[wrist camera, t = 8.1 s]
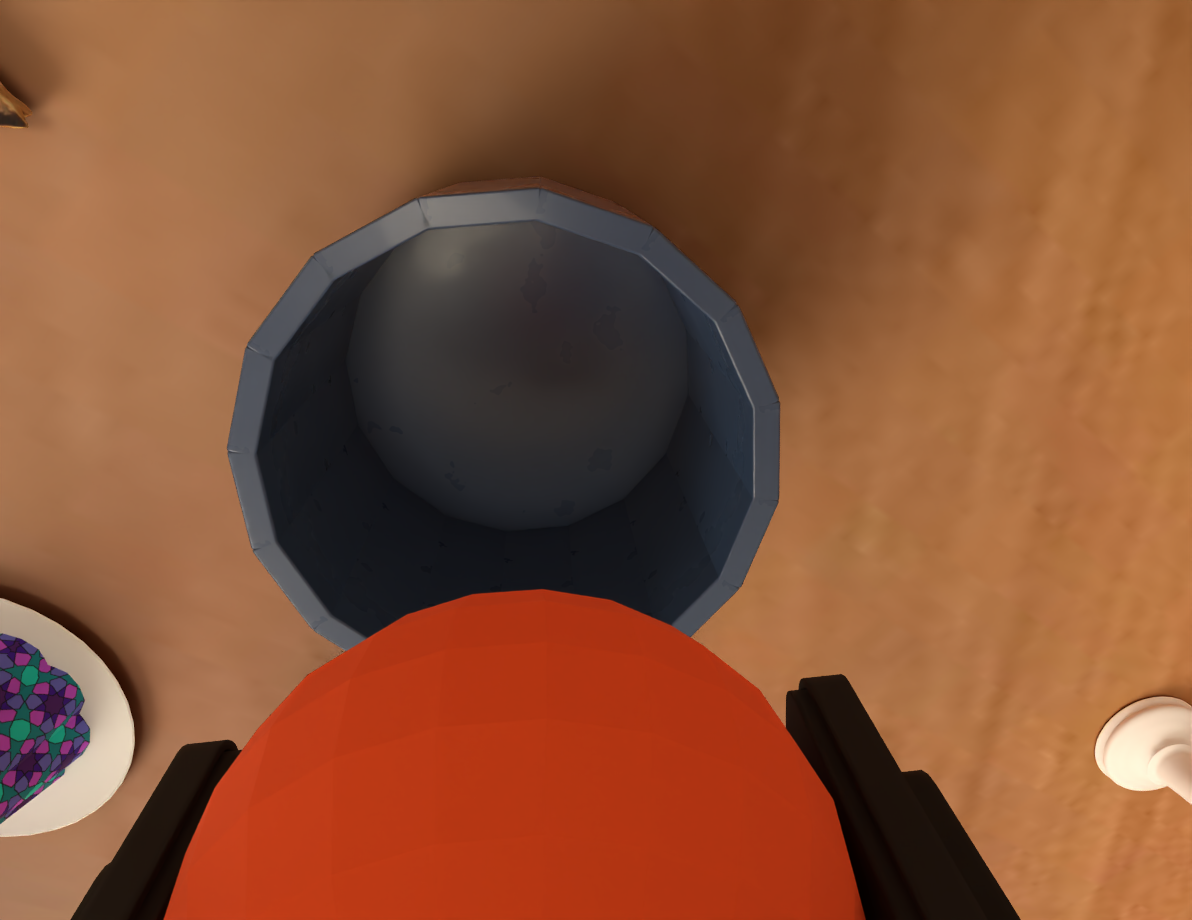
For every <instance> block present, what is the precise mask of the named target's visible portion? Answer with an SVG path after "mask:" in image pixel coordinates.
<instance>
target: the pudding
mask: <svg viewBox="0 0 1192 920" xmlns="http://www.w3.org/2000/svg"><path fill="white" fill-rule="evenodd" d="M134 745H135V739H134V722H133V719H132V715H131V711H130V708H129V704H128V701H127V699H126V697H125V695H124V693H123V691H122V689H121V687H120V685H119V683H118V681H117V680H116V678H115V677H114V676H113V674H112V673H111V671H110V670H109V669H108V667H107V666H106V665H105V663H104V662H103V661H102V660H101V659H100V658H99V657H98V656H97V655H96V654H95V653H94V652H93V651H92V650H91V649H90V648H89V647H88V646H87V645H86V644H85V643H84V642H83V641H82V640H80V639H79V638H78V637H76V636H75V635H74V634H72V633H71V632H69V631H68V630H67V629H65V628H64V627H63V626H61V625H60V624H58V623H56V622H54V621H53V620H51V619H49V618H47V617H45V616H43V615H41V614H40V613H38V612H36V611H34V610H32V609H29V608H26V607H24V606H21V605H19V604H16V603H13V602H11V601H8V600H5V599H2V598H0V837H10V836H26V835H34V834H39V833H44V832H49V831H54V830H56V829H59V828H62V827H65V826H67V825H70V824H73V823H76V822H77V821H79V820H81V819H83V818H84V817H86V816H88V815H90V814H91V813H93V812H95V811H96V810H97V809H98V808H100V807H101V806H102V805H103V804H104V803H105V802H107V801H108V800H109V799H110V798H111V797H112V796H113V794H114V793H115V792H116V790H117V789H118V788H119V786H120V785H121V784H122V782H123V781H124V778H125V776H126V774H127V772H128V770H129V767H130V765H131V761H132V756H133V751H134Z"/></svg>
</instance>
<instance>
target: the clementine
mask: <svg viewBox="0 0 1192 920" xmlns="http://www.w3.org/2000/svg"><path fill="white" fill-rule="evenodd" d="M164 920H866V918H865V915H864V911H863V907H862V903H861V899H860V896H859V892H858V888H857V884H856V881H855V877H854V873H853V869H852V866H851V862H850V858H849V855H848V851H847V847H846V844H845V840H844V836H843V833H842V829H841V825H840V822H839V818H838V814H837V811H836V807H835V803H834V800H833V798H832V797H831V795H830V794H829V792H828V791H827V789H826V788H825V786H824V785H823V783H822V781H821V780H820V778H819V777H818V775H817V774H816V772H815V771H814V769H813V768H812V766H811V765H810V763H809V762H808V760H807V759H806V757H805V756H804V754H803V753H802V751H801V750H800V748H799V747H798V745H797V744H796V742H795V741H794V739H793V738H792V736H791V735H790V733H789V732H788V730H787V729H786V728H785V726H784V725H783V723H782V722H781V720H780V719H779V717H778V716H777V715H776V713H775V712H774V710H773V709H772V707H771V706H770V704H769V703H768V701H767V700H766V699H765V697H764V696H763V694H762V693H761V691H760V690H759V689H758V688H757V687H755V686H754V685H753V684H751V683H750V682H749V681H748V680H746V679H745V678H744V677H743V676H741V675H740V674H739V673H737V672H736V671H735V670H734V669H732V668H731V667H730V666H729V665H727V664H726V663H725V662H723V661H722V660H721V659H720V658H718V657H717V656H716V655H715V654H713V653H712V652H711V651H709V650H708V649H707V648H706V647H704V646H703V645H702V644H700V643H698V642H697V641H695V640H694V639H692V638H690V637H689V636H687V635H686V634H684V633H682V632H681V631H679V630H678V629H676V628H674V627H673V626H671V625H669V624H667V623H664V622H662V621H660V620H657V619H655V618H652V617H650V616H648V615H645V614H643V613H641V612H638V611H636V610H634V609H631V608H629V607H626V606H624V605H622V604H619V603H617V602H615V601H612V600H608V599H602V598H596V597H589V596H583V595H577V594H571V593H564V592H558V591H552V590H546V589H537V590H523V591H509V592H495V593H481V594H471V595H468V596H465V597H462V598H458V599H455V600H452V601H449V602H446V603H442V604H439V605H436V606H433V607H430V608H426V609H423V610H420V611H417V612H414V613H410V614H407V615H405V616H404V617H402V618H400V619H399V620H397V621H395V622H394V623H392V624H390V625H389V626H387V627H385V628H384V629H382V630H380V631H379V632H377V633H375V634H374V635H372V636H370V637H369V638H367V639H366V640H364V641H362V642H361V643H359V644H357V645H356V646H354V647H352V648H351V649H349V650H348V651H346V652H344V653H343V654H341V655H339V656H338V657H336V658H334V659H333V660H331V661H330V662H328V663H326V664H325V665H323V666H321V667H320V668H318V669H316V670H315V671H313V672H312V673H310V674H308V675H307V676H306V677H305V678H304V679H303V680H302V681H301V683H300V684H299V685H298V686H297V687H296V688H295V689H294V690H293V691H292V692H291V693H290V695H289V696H288V697H287V698H286V699H285V700H284V701H283V702H282V703H281V704H280V705H279V706H278V708H277V709H276V710H275V711H274V712H273V713H272V714H271V715H270V716H269V717H268V718H267V719H266V721H265V722H264V723H263V724H262V725H261V726H260V727H259V728H258V729H257V731H256V732H255V733H254V735H253V736H252V738H251V739H250V740H249V742H248V743H247V744H246V746H245V747H244V748H243V750H242V751H241V753H240V754H239V755H238V757H237V758H236V759H235V761H234V762H233V763H232V765H231V766H230V768H229V769H228V770H227V772H226V773H225V774H224V776H223V777H222V778H221V780H220V781H219V783H218V784H217V785H216V787H215V788H214V791H213V793H212V795H211V797H210V800H209V802H208V804H207V806H206V809H205V811H204V813H203V815H202V817H201V820H200V822H199V824H198V826H197V829H196V831H195V833H194V835H193V837H192V840H191V842H190V844H189V846H188V849H187V851H186V853H185V856H184V859H183V862H182V865H181V868H180V871H179V874H178V877H177V880H176V883H175V886H174V889H173V892H172V895H171V898H170V901H169V904H168V907H167V910H166V913H165V917H164Z"/></svg>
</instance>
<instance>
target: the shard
mask: <svg viewBox="0 0 1192 920" xmlns="http://www.w3.org/2000/svg"><path fill="white" fill-rule="evenodd" d="M31 115H32V111H31V110H30V109H29V108H28V107H27V106H26V105H25V104H24V103H23V102H21V101H20V100H18V99H17V98H15V97H14V96H13V95H12V94H11V93H10V92H9V91H8V90H7V89H6V88H5V87H4V86H3V85H2V83H1V82H0V127H10V128H28V124H27V122H26V121H25V117H28V116H31Z"/></svg>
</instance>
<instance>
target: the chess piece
mask: <svg viewBox="0 0 1192 920" xmlns="http://www.w3.org/2000/svg"><path fill="white" fill-rule="evenodd" d="M1095 758H1096V762H1097V764H1098V766H1099V768H1100V769H1101V771H1102V772H1103V773H1104V774H1105V775H1107V776H1108V777H1110V778H1111V779H1112V780H1113V781H1114V782H1115V783H1116V784H1118V785H1120V786H1122V787H1124V788H1127V789H1130V790H1136V791H1149V790H1155V789H1159V788H1163V787H1166V786H1168V787H1170V788H1171V789H1172V790H1174V791H1175V792H1176V793H1178V794H1179V795H1180V796H1181V797H1183V798H1184V799H1185V800H1186V801H1188V802H1189V803H1190V804H1192V707H1191V706H1190V705H1189V704H1188V703H1186V702H1185V701H1183V700H1180V699H1177V698H1173V697H1164V696H1162V697H1152V698H1147V699H1143V700H1140V701H1138V702H1135V703H1133V704H1131V705H1129V706H1127V707H1125V708H1124V709H1122V710H1121V711H1119V712H1118V713H1117V714H1116V715H1114V716H1113V717H1112V718H1111V719H1110V720H1109V721H1108V722H1107V724H1106V725H1105V726H1104V728H1103V729H1102V731H1101V732H1100V734H1099V737H1098V739H1097V742H1096V746H1095Z"/></svg>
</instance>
